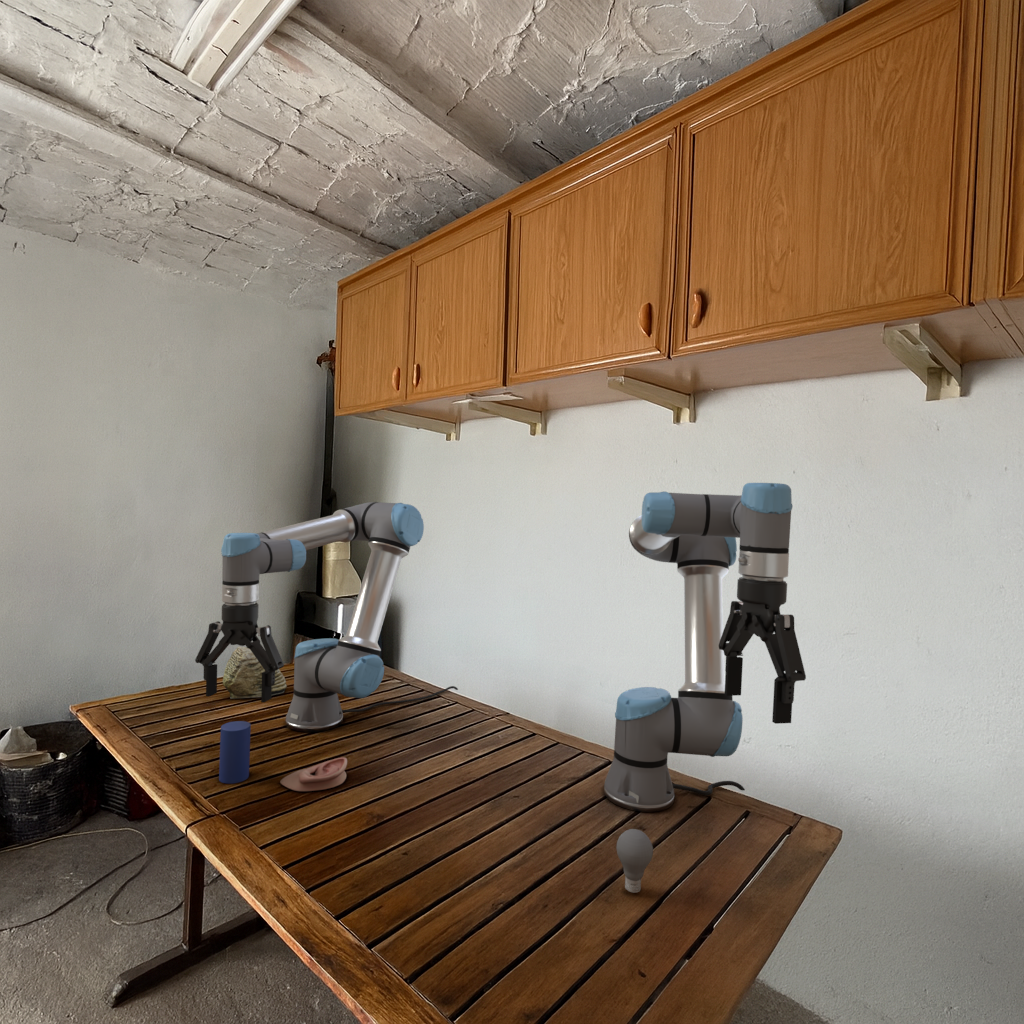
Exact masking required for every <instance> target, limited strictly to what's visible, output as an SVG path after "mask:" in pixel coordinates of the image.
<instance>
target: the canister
mask: <svg viewBox="0 0 1024 1024" xmlns="http://www.w3.org/2000/svg"><path fill="white" fill-rule="evenodd" d="M251 726H252V724H251V723H250V722H249V721H245V720H236V721H235V720H234V721H229V722H226V723H224V724H222V725H220V736H219V737H220V738H219V765H218V766H219V767H218V781H219V782H220V783H222V784H226V785H227V784H229V785H231V784H238V783H242V782H244V781H246V780H247V779H249V777H250V757H251V755H250V754H251V732H252V731H251V730H252V729H251Z"/></svg>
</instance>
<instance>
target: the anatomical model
mask: <svg viewBox="0 0 1024 1024" xmlns="http://www.w3.org/2000/svg"><path fill="white" fill-rule="evenodd" d="M347 766H348V758H347V757H343V756H342V757H338V758H334V759H330V760H327V761H326V760H325V761H324V762H320V763H318V764H316V765H313V766H310V767H307V768H303V769H299V770H296V771H294V772H292V773H290V774H288V775H286V776H284V777H282V779H280V782H279V783H280V785H282V786H283V787H285V788H286V789H289V790H292V791H295V792H312V791H313V792H314V791H322V790H327V789H331V788H335V787H338V786H341V785H342V784H343V783H344V782H345V781H346V779H347V773H346V771H345V770H346V769H347Z"/></svg>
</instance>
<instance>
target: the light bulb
mask: <svg viewBox="0 0 1024 1024" xmlns="http://www.w3.org/2000/svg"><path fill="white" fill-rule="evenodd" d="M615 849H616V854H617V857H618V859H619V861H620V863H621V865H622V867H623V873H624V874H623V875H624V876H625V878H624V888H625V890H627V891H628V892H630V893H634V894H635V893H639V892H640V891H641V889H642V887H641V886H642V879H643V877H644V875H645V871H646V868H647V867H648V866H649V864H650V863H651V861H652V859H653V855H654V847H653V843H652V841H651V838H649V836H648V835H647V834H646V833H645V832H643V831H642V830H641V829H636V828H629V829H627V830H625V831H623V832H622V833H621V834H620V835H619V837H618V839H617V841H616V847H615Z"/></svg>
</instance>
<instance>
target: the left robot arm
mask: <svg viewBox="0 0 1024 1024" xmlns="http://www.w3.org/2000/svg"><path fill="white" fill-rule="evenodd" d="M424 529H425V525H424V519H423V517H422V514H421V512H420V510H418V508H417V507H416V506H414V505H411V504H408V503H403V502H380V501H369V502H364V503H360V504H356V505H352V506H349V507H345V508H340V509H338V510H335V511H334V512H333V514H331V515H327V516H323V517H319V518H315V519H310V520H306V521H302V522H298V523H294V524H290V525H286V526H282V527H278V528H273V529H269V530H265V531H262V532H230V533H227V534H225V535H224V537H223V540H222V541H223V542H222V546H221V549H220V552H221V557H222V558H221V559H222V565H221V566H222V567H221V568H222V570H221V571H222V573H221V575H222V577H221V579H222V581H221V583H222V585H221V602H222V605H221V621H222V623H221V621H219V620H217V621H213V622H211V623H209V625H208V631H207V635H206V636H205V639H204V640H203V642H202V644H201V647H200V649H199V651H198V653H197V656H196V657H195V659H194V662H195V663H196V664H201V665H202V667H203V681H205V697H208V698H210V697H211V696H213V695H215V694H218V691H217V690H218V664H215V663H216V661H217V660H218V659H219V657H220V656H221V655H222V653H224V651H225V650H226V649H227V648H228V647H229V645H230V646H235V645H237V646H239V647H247V648H249V649H250V650H251V651H252V653H253V654H254V656H255V657H256V658H257V660H258V661H259V663H260V664H261V665H262V667H263V668H264V670H265V672H262V692H261V697H260V699H261V700H260V701H261V703H266V702H268V701H270V700H271V699H272V696H271V692H272V686H273V685H274V684H275V671H276V670H278V669H279V670H281V669H282V668H284V666H285V664H284V661H283V659H282V656H281V654H280V651H279V650H278V647H277V645H276V642H275V639H274V637H273V635H272V627H271V625H269V624H267V625H264V626H259V624H258V621H259V606H260V605H259V603H258V601H260V575H264V574H265V575H266V574H273V573H274V574H275V573H285V572H286V573H287V572H288V573H290V572H293V571H298V570H301V569H302V567H304V566H305V564H306V561H307V551H309V550H312V549H315V548H318V547H322V546H323V547H324V546H327V545H330V544H333V543H337V542H341V543H351V542H355V541H359V542H361V541H363V542H367V545H368V547H369V548H370V551H371V552H370V554H369V558H368V561H367V564H366V568H365V571H364V574H363V578H362V580H361V584H360V587H359V591H358V594H357V597H356V601H355V603H354V608H353V611H352V614H351V617H350V620H349V624H348V628H347V631H346V634H345V635H344V636H342V637H341V638H339V639H338V638H335V637H334V638H331V637H329V638H315V639H308V640H304V641H301V642H299V643H298V644H297V645H296V646H295V652H294V656H293V659H294V661H293V662H294V668H293V669H294V670H293V695H292V696H293V697H292V699H291V702H290V704H289V708H288V711H287V713H286V715H285V726H286V728H287V729H289V730H291V731H294V732H295V731H296V732H301V733H316V732H325V731H329V730H332V729H335V728H337V727H339V726H340V725H342V723H343V722H344V714H343V713H358V712H359V713H360V712H364V711H367V710H370V709H373V708H375V707H379V706H385V705H392V704H405V703H411V702H417V701H421V700H425V699H429V698H432V697H434V696H437V695H440V694H442V693H444V692H447V691H448V690H450V689H454V690H455V691H458V690H459V688H458V687H457V686H455V685H450V686H448V687H446V688H444V689H441V690H438V691H436V692H434V693H431V694H428V695H424V696H421V697H415V698H409V699H403V700H393V701H383V702H378V703H374V704H371V705H369V706H368V705H367V706H366V707H363V708H358V709H357V708H355V709H342V706H341V702H340V699H339V695H342V696H344V697H347V698H355V699H365V698H367V697H369V696H370V695H371V694H372V693H374V692H375V691H377V689H378V688H379V686H380V685H381V683H382V681H383V678H384V675H385V665H384V661H383V659H382V658H381V657H380V655H381V651H382V649H381V647H380V645H379V643H378V641H379V638H380V635H381V631H382V627H383V624H384V621H385V617H386V614H387V611H388V607H389V603H390V600H391V597H392V593H393V591H394V587H395V583H396V578H397V575H398V571H399V568H400V566H401V561H402V559H404V558H405V557H407V556H409V553H410V549H411V547H413V546H417V544H418V543H420V542H421V540H422V538H423V536H424ZM221 632H222V634H223V636H222V637H221V638H220V639H219V641H218V643H217V644H216V642H217V640H218V638H219V636H220V633H221ZM257 634H258V635H257ZM259 638H260V639H259ZM261 643H262V644H261ZM215 644H216V646H215V647H214V645H215ZM213 647H214V648H213ZM338 694H339V695H338Z"/></svg>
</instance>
